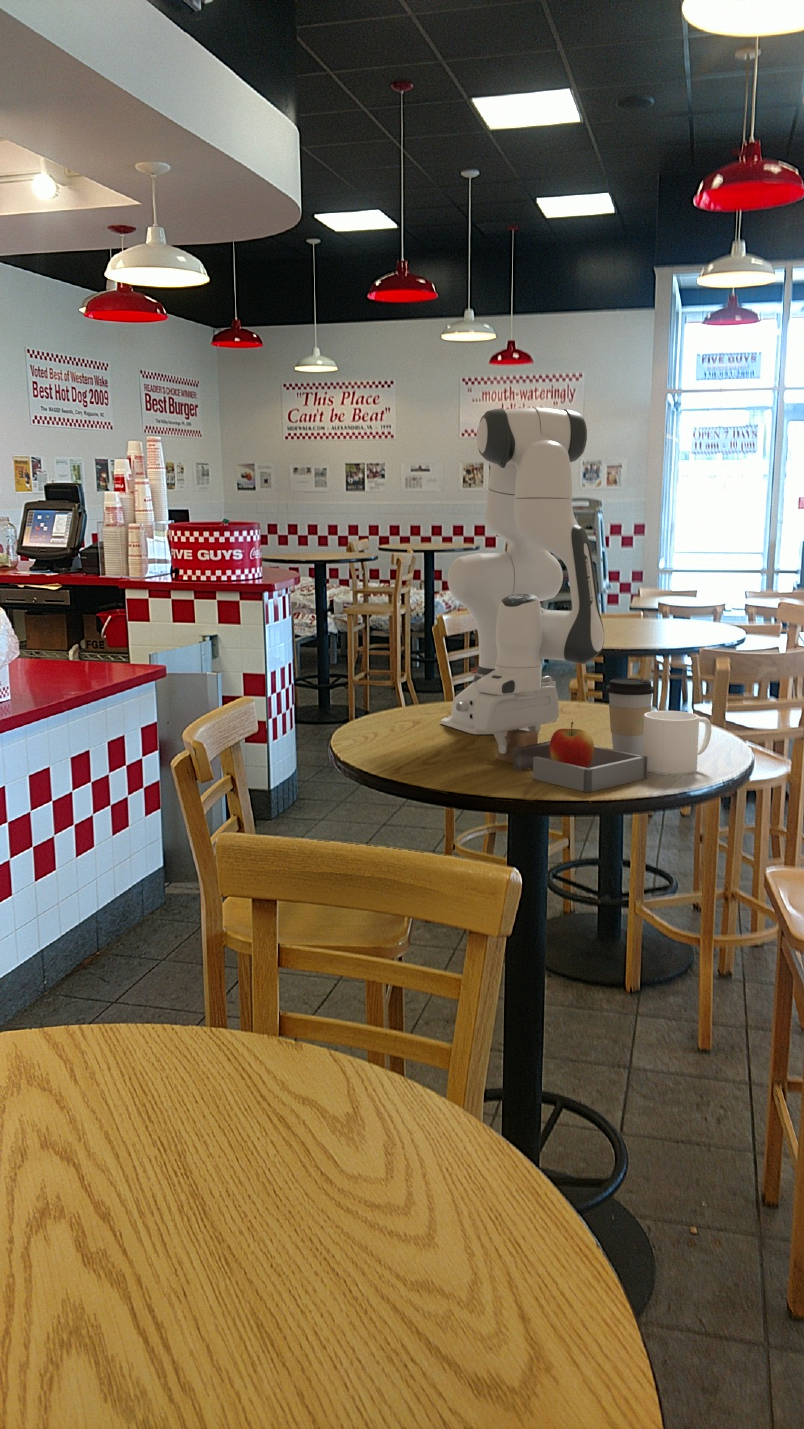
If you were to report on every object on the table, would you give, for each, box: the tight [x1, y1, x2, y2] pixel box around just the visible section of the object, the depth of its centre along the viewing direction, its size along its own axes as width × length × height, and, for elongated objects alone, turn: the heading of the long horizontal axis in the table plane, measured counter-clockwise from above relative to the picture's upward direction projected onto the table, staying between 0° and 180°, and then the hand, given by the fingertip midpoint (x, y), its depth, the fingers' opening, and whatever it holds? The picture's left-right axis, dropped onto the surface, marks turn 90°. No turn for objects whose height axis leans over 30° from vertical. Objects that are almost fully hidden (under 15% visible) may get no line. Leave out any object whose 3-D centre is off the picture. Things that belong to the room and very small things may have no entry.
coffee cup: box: [605, 677, 656, 755], centre depth 210 cm, size 9×9×15 cm
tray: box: [532, 745, 648, 794], centre depth 193 cm, size 13×16×4 cm
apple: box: [549, 721, 595, 768], centre depth 196 cm, size 8×8×10 cm
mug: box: [642, 710, 712, 776], centre depth 199 cm, size 13×10×10 cm
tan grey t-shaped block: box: [496, 729, 551, 771], centre depth 206 cm, size 10×10×6 cm
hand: (517, 750), depth 207 cm, fingers open, 5 cm apart
